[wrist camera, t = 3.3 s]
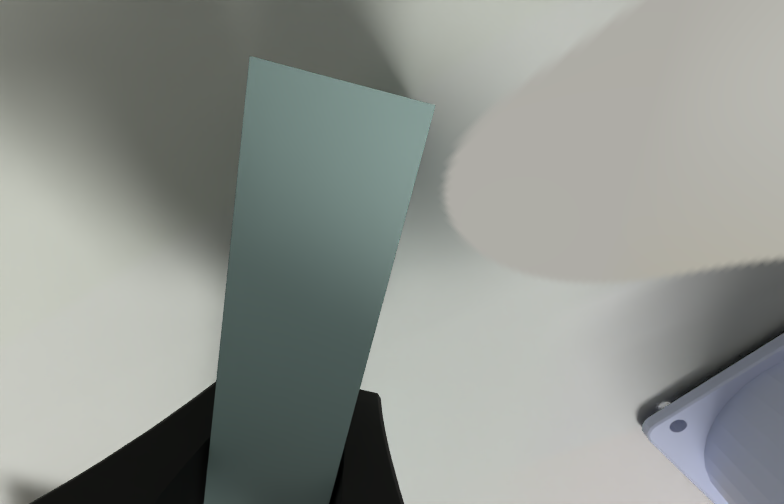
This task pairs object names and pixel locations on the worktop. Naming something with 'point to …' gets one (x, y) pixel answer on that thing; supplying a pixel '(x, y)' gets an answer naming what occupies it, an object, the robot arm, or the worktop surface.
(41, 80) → the worktop surface
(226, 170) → the worktop surface
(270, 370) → the slotted plate
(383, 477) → the robot arm
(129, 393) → the worktop surface
